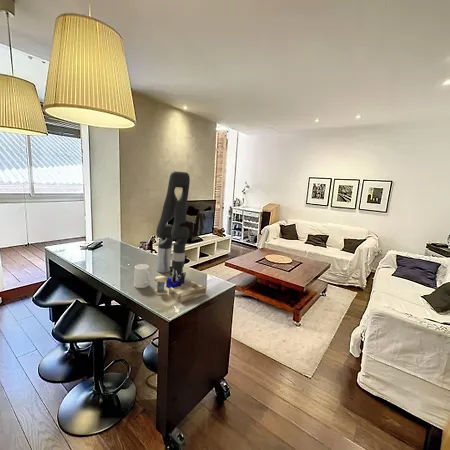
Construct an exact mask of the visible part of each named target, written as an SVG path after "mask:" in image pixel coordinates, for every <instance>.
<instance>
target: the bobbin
mask: <svg viewBox="0 0 450 450" xmlns="http://www.w3.org/2000/svg"><path fill="white" fill-rule="evenodd" d="M167 277H168V276H165V275H158V276H155V278H154V281H155V282H157V283H156V284H157V285H156V289H154V291H153V293H154V294H155V295H156V296H163V295H166V294H167V291H168V290H167V289H166V288H165V285H166V283H165V282H166V281H167V279H168V278H167Z"/></svg>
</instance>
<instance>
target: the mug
mask: <svg viewBox="0 0 450 450" xmlns="http://www.w3.org/2000/svg"><path fill="white" fill-rule="evenodd" d="M149 268H150V265H148V264H144V263H140V264H136V265H135V266H134V274H133V275H134V278H133V287H134V288H137V289H144V288H147V287H148V286H149V283H150V281H151V273H150V271H149V270H150V269H149Z"/></svg>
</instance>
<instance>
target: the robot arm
mask: <svg viewBox="0 0 450 450" xmlns="http://www.w3.org/2000/svg"><path fill="white" fill-rule="evenodd" d="M190 182H191V178H190V174H189V173H188V172H186V171H176V170H175V171H174V170H173V171H172V172H171V173H170V175H169V179H168V184H167V192H166V194H165V199H164V202H163V206H162V212H161V215H160V218H159V221H158V224H157V227H156V236H157V238H159V239H163V240H161V241H159V242H158V245H157V256H156V265H155V266H156V267H155V268H156V271H157V272H158V273H161V274H163V273H164V274H166V273H169V275H170V276H171V278H172V282H175V281H176V280H177V279H178V283H177V286H178V287H181V286H182V284H181V281H184V282H185V279H184V278H186V275H187V273H186V271H184V267H185V260H186V259H185V258H186V255H185V253H186V245H187V243H188V242H187V241H188V240H189V237H190V229H189V228H188V227H187V226H181V224H184V223H186V222H187V207H188V206H187V205H188V204H187V203H188V197H189V190H190ZM176 188H179V189H181V188H182V191H181V195H180V197H179V199H178V198H177V196H176V191H175V190H176ZM173 218H174V220H173V224H167V223H169V222H170V221H171V220H172V219H173ZM173 239H175V240H177V241H175V242H174V241H173ZM173 242H174V243H173ZM172 247H173V249H172ZM170 276H169V277H170ZM179 277H180V279H179ZM178 287H177V288H178Z"/></svg>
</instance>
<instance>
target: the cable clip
mask: <svg viewBox="0 0 450 450" xmlns="http://www.w3.org/2000/svg"><path fill="white" fill-rule="evenodd" d="M166 277H167V278H168V279H167V281H166V283H165V287H166V288H168V289H169V288H171V287H172V288H174V289H176V288H178V286H177V283H178V278H176V281H175V282H172V277H170V276H166ZM185 278H186V277H185ZM185 278H184V281H181V285H184V284H185ZM179 279H180V277H179Z"/></svg>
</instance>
